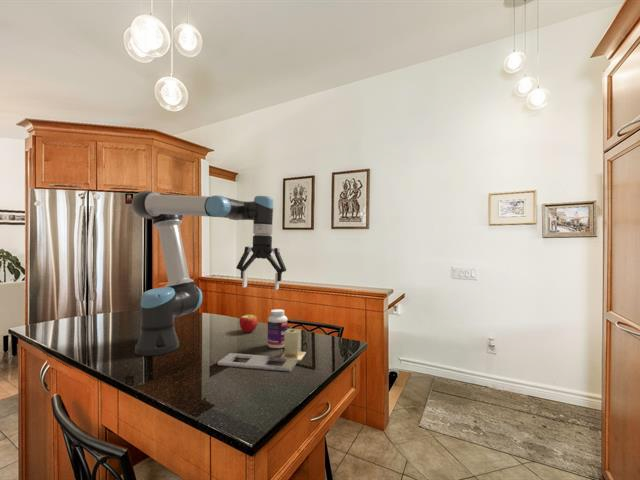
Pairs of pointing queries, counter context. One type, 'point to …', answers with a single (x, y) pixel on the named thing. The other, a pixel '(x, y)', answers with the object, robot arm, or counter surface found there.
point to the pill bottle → (277, 328)
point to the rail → (258, 362)
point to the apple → (248, 323)
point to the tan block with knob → (292, 343)
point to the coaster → (298, 357)
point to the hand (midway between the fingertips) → (260, 288)
